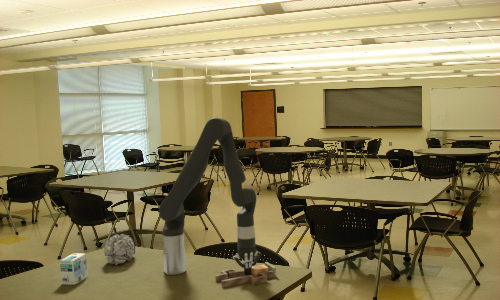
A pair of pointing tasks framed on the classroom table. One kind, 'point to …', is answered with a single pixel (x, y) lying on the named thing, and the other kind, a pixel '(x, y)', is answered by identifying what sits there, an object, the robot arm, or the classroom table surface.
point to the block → (258, 269)
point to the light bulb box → (73, 268)
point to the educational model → (119, 249)
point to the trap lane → (244, 276)
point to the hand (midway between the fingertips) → (248, 276)
